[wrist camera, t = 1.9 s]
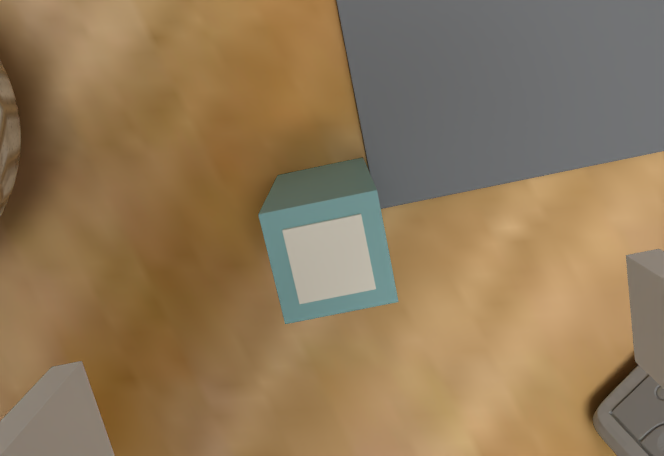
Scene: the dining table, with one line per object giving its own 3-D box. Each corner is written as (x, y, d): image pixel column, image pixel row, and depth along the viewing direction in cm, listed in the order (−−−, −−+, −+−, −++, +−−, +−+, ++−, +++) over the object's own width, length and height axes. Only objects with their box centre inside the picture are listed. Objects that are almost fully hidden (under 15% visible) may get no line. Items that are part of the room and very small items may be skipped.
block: (296, 256, 32) (284, 325, 23) (277, 175, 31) (257, 215, 22) (379, 239, 32) (398, 303, 23) (363, 157, 31) (377, 190, 22)
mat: (376, 207, 31) (377, 209, 31) (325, -56, 28) (325, -57, 28) (701, 141, 31) (706, 142, 30) (687, -137, 27) (692, -140, 27)
